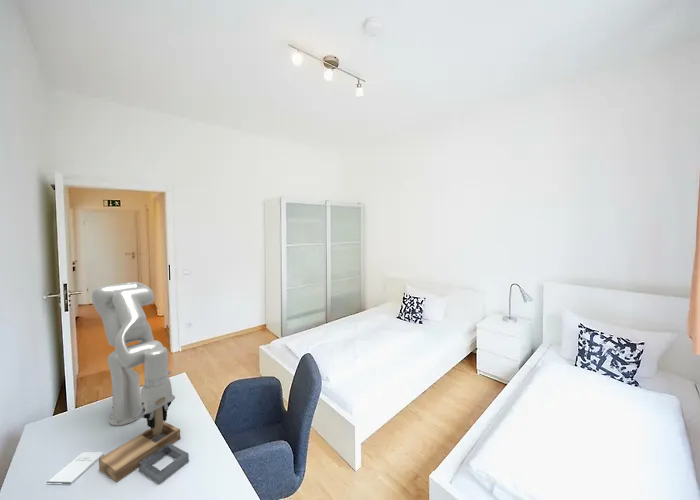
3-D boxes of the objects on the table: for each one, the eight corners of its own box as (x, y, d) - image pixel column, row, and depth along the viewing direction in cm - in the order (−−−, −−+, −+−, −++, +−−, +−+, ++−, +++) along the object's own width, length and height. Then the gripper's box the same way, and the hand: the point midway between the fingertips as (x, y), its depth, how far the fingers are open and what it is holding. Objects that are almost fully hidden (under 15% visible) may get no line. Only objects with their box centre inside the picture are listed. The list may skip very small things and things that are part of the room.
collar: (138, 470, 100) (138, 462, 99) (168, 450, 109) (168, 442, 109) (159, 484, 95) (158, 475, 95) (188, 461, 104) (188, 453, 104)
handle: (155, 440, 110) (154, 403, 108) (146, 433, 113) (145, 397, 111) (168, 432, 114) (168, 397, 112) (159, 426, 117) (158, 391, 115)
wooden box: (99, 469, 100) (98, 458, 100) (163, 429, 120) (163, 420, 119) (116, 482, 95) (116, 470, 95) (180, 438, 115) (180, 429, 115)
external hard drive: (46, 485, 94) (82, 455, 106) (71, 486, 94) (104, 456, 106) (46, 481, 94) (82, 451, 106) (71, 481, 94) (103, 452, 106)
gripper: (171, 367, 120) (172, 408, 122) (126, 387, 105) (128, 433, 107) (183, 372, 117) (183, 414, 119) (138, 393, 102) (139, 441, 104)
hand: (157, 422), depth 113 cm, fingers closed on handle, 3 cm apart
